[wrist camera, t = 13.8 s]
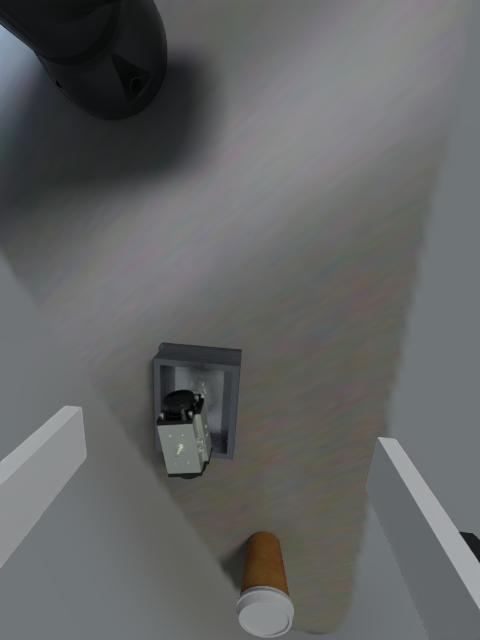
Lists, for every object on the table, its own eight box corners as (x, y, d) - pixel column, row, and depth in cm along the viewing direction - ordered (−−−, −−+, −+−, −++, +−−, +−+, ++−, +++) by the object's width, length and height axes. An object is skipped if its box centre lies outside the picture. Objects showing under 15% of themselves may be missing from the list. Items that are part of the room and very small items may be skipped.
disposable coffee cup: (242, 560, 59) (238, 638, 47) (238, 525, 56) (232, 599, 45) (289, 560, 58) (296, 640, 46) (286, 525, 55) (293, 600, 44)
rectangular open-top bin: (162, 342, 46) (153, 352, 42) (241, 349, 45) (240, 360, 42) (163, 439, 51) (155, 456, 48) (234, 447, 51) (232, 464, 47)
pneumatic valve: (188, 433, 49) (167, 492, 38) (177, 372, 46) (150, 417, 35) (220, 431, 49) (208, 491, 37) (210, 369, 46) (194, 415, 34)
